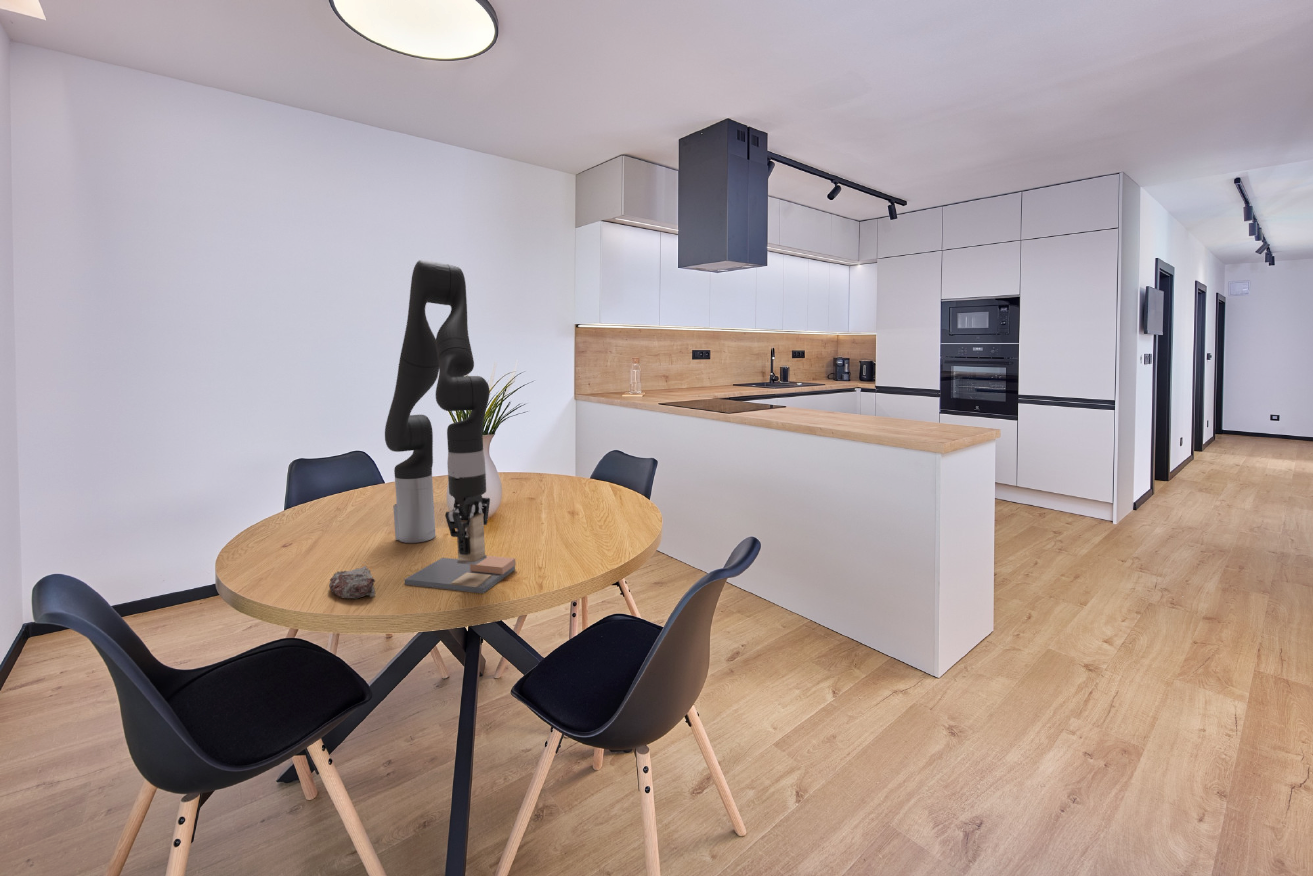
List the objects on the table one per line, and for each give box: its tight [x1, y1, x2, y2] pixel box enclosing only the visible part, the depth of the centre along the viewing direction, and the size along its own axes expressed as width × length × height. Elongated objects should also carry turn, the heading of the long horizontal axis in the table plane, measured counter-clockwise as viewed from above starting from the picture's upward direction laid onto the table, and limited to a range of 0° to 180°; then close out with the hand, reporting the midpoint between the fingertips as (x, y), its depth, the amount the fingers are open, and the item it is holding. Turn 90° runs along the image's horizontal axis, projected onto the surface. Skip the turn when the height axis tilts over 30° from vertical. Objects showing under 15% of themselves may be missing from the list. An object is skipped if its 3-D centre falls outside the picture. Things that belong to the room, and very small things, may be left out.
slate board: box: [403, 557, 516, 594], centre depth 134 cm, size 19×14×1 cm
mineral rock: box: [329, 565, 376, 599], centre depth 126 cm, size 15×8×4 cm, turn 33°
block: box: [456, 513, 488, 565], centre depth 128 cm, size 4×4×10 cm
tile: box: [470, 555, 516, 574], centre depth 136 cm, size 2×6×8 cm
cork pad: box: [451, 572, 491, 587], centre depth 129 cm, size 6×6×1 cm
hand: (470, 550), depth 128 cm, fingers closed on block, 4 cm apart
